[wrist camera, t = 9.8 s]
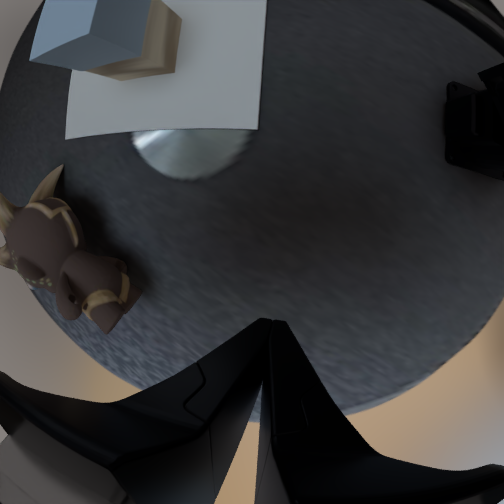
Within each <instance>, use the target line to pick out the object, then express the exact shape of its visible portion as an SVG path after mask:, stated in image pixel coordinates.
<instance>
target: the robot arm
mask: <svg viewBox="0 0 504 504" xmlns="http://www.w3.org/2000/svg"><path fill="white" fill-rule="evenodd" d="M477 74H478V75H479V77H480V79H481V81H483V82H484V84H485V86H486V88H487V89H486V90H482V91H477V90H475V89H472V88H470V87H467V86H465V85H462V84H460V83H457V82H454V81H452V82H450V83H448V85H447V99H448V101H447V102H446V119H445V134H446V136H447V139H446V153H445V159H446V161H447V162H448V163H449V164H452V165H455V166H459V167H462V168H465V169H469V170H472V171H475V172H478V173H481V174H485V175H488V176H490V177H493V178H496V179H499V180H503V181H504V63H501V64H499V65H496V66H494V67H491V68H489V69H487V70H484V71H482V72H479V73H477ZM452 85H453V86H454V87H455V90H453V88H452ZM451 155H453V160H451V159H450V156H451ZM502 172H503V176H502ZM262 381H263V383H262ZM261 385H262V395H261V413H260V430H259V445H258V461H257V475H256V489H255V503H254V504H497V503H499V502H500V501H501V500H503V499H504V466H502V465H496V464H489V465H485V466H482V467H479V468H475V469H470V470H463V471H451V470H442V469H437V468H432V467H427V466H422V465H417V464H413V463H409V462H405V461H401V460H397V459H393V458H390V457H387V456H384V455H382V454H380V453H378V452H377V451H375V450H374V449H373V448H372V447H371V446H369V444H368V443H367V442H366V441H365V440H364V438H363V437H362V436H361V435H360V434H359V432H358V431H357V430H356V429H355V428H354V426H353V425H352V424H351V423H350V422H349V421H348V419H347V418H346V417H345V416H344V414H343V413H342V412H341V410H340V409H339V408H338V406H337V405H336V404H335V403H334V401H333V400H332V398H331V396H330V395H329V393H328V392H327V390H326V389H325V387H324V385H323V383H322V382H321V380H320V378H319V377H318V375H317V373H316V372H315V370H314V368H313V367H312V365H311V363H310V361H309V360H308V358H307V356H306V355H305V353H304V351H303V349H302V348H301V346H300V344H299V343H298V341H297V339H296V337H295V336H294V334H293V332H292V331H291V329H290V327H289V325H288V324H287V322H286V321H282V320H273V321H272V320H271V319H267V318H259V319H257V320H256V321H255V322H253V323H252V324H250V325H249V326H247V327H246V328H245V329H243V330H242V331H240V332H239V333H238V334H236V335H235V336H233V337H232V338H230V339H229V340H227V341H226V342H225V343H223V344H222V345H220V346H219V347H217V348H216V349H214V350H213V351H211V352H210V353H208V354H207V355H205V356H204V357H202V358H201V359H199V360H198V361H197V362H195V363H193V364H192V365H190V366H189V367H187V368H185V369H184V370H182V371H180V372H179V373H177V374H175V375H174V376H172V377H170V378H168V379H166V380H164V381H162V382H160V383H158V384H156V385H153V386H151V387H149V388H147V389H145V390H143V391H140V392H138V393H136V394H134V395H131V396H129V397H127V398H125V399H122V400H119V401H115V402H110V403H98V402H92V401H85V400H80V399H75V398H69V397H65V396H60V395H55V394H51V393H47V392H42V391H39V390H35V389H32V388H29V387H27V386H24V385H22V384H20V383H18V382H16V381H15V380H13V379H12V378H11V377H9V376H8V375H7V374H5V373H4V372H1V371H0V425H1V426H2V427H3V429H4V430H5V431H6V432H7V434H8V435H7V437H6V438H5V439H4V440H3V441H2V442H1V443H0V504H214V502H215V499H216V498H217V495H218V493H219V491H220V488H221V486H222V484H223V482H224V479H225V477H226V475H227V472H228V470H229V468H230V465H231V463H232V460H233V458H234V456H235V453H236V451H237V448H238V445H239V443H240V441H241V438H242V436H243V433H244V430H245V428H246V425H247V423H248V420H249V418H250V415H251V413H252V410H253V407H254V405H255V402H256V399H257V397H258V394H259V391H260V388H261Z"/></svg>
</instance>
